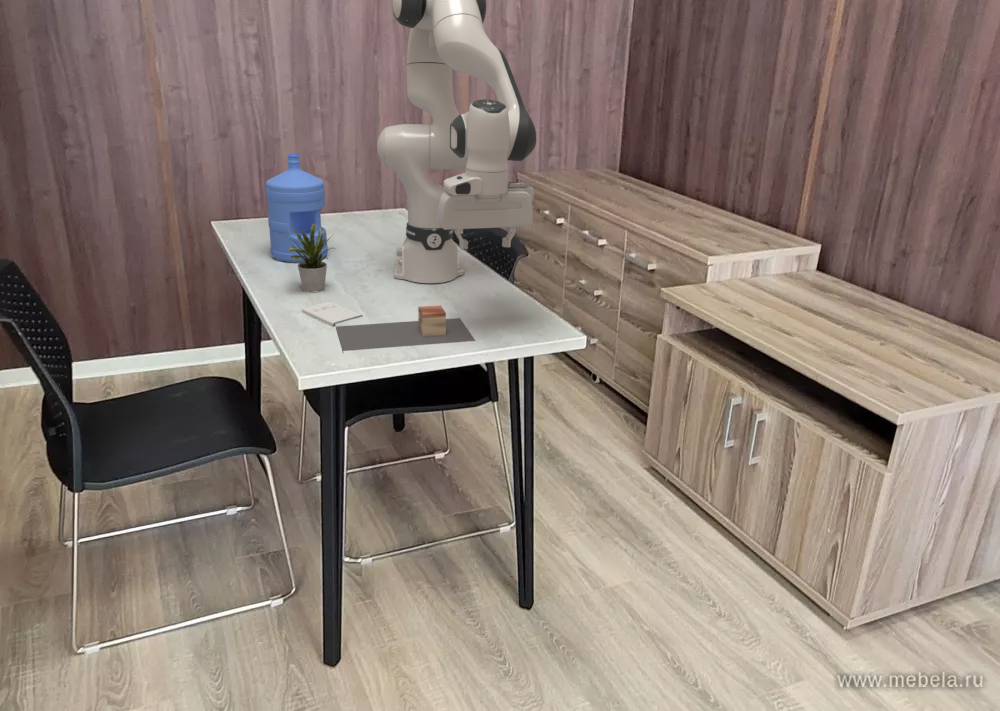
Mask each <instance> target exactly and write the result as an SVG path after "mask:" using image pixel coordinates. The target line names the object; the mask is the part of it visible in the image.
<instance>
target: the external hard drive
mask: <svg viewBox="0 0 1000 711" xmlns="http://www.w3.org/2000/svg"><path fill="white" fill-rule="evenodd" d="M302 312H303V314H305V315H306V316H309V317H310V318H313V319H315V320H317V319H318V322H319V321H320V322H321V321H322V322H321V323H323V322H324V324H326V325H328V326H330V327H333V328H335V327H336V325H337V324H340V323H344V322H348V321H351V320H355V319H358V318H361V317H363V316H364V315H363V314H362V313H359V312H356V311H354V310H351V309H349V308H347V307H345V306H343V305H340V304H337V303H335V302H333V301H326V302H322V303H318V304H314V305H310V306H306V307H303V308H302V309H301V313H302ZM334 326H335V327H334Z"/></svg>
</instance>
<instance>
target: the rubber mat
mask: <svg viewBox="0 0 1000 711" xmlns="http://www.w3.org/2000/svg"><path fill="white" fill-rule="evenodd" d="M335 330H336V333H337V337H338V340H339V344H340V347H341V351H342V354H345V353H344V352H345V351H346V352H347V351H357V350H358V351H359V350H361V351H362V350H373V349H384V348H385V349H387V348H397V347H398V348H399V347H400V348H402V347H411V346H412V347H413V346H424V345H425V346H426V345H438V344H439V345H440V344H451V343H463V342H465V343H466V342H476V339H475V338H474V335H472V333H471V332H470V330H469V329H468V327H467V326H466V325H465V323H464V322H463V320H462V318H461V317H455V318H446V335H436V336H422V334H421V332H420V330H419V328H418V320H413V321H412V320H410V321H397V322H396V321H395V322H384V323H383V322H382V323H380V322H379V323H367V324H354V325H353V324H352V325H339V326H338V325H337V326H335Z"/></svg>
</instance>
